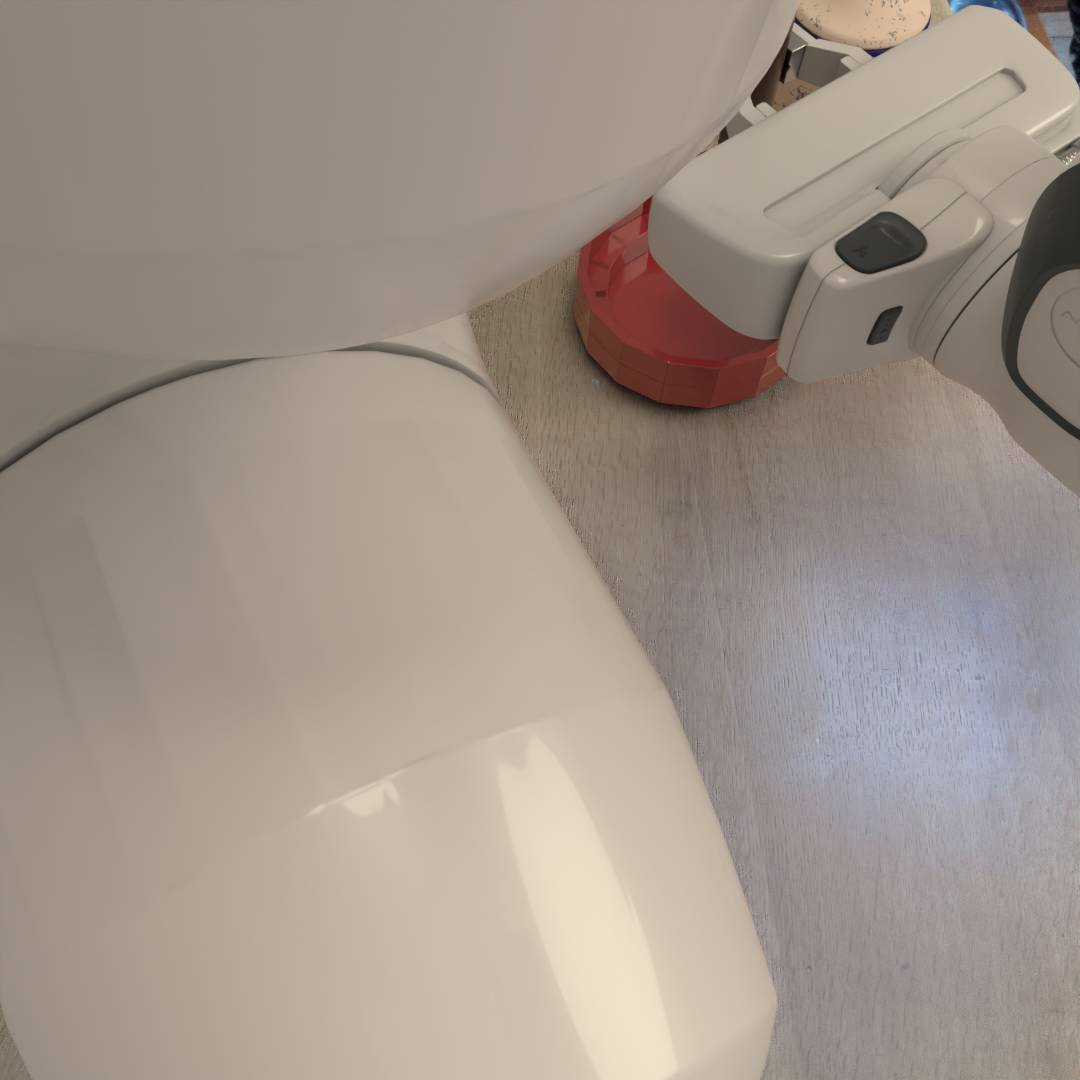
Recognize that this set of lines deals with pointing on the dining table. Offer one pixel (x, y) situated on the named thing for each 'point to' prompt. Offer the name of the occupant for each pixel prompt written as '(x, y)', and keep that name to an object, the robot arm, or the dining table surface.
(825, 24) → the enamel mug
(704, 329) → the red bowl
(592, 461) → the dining table surface
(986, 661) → the dining table surface
